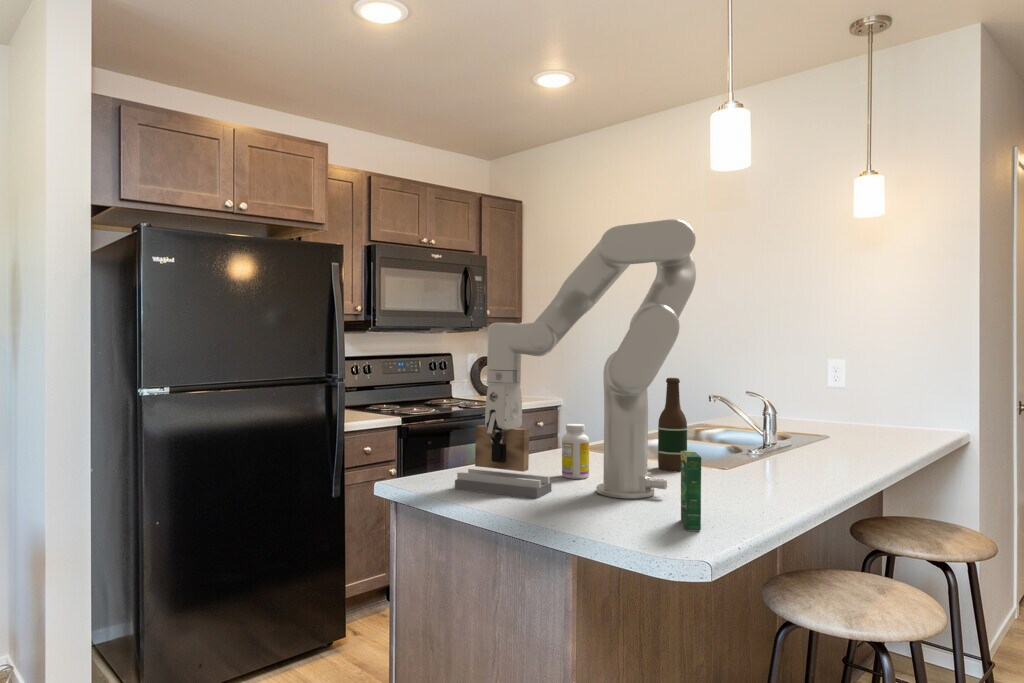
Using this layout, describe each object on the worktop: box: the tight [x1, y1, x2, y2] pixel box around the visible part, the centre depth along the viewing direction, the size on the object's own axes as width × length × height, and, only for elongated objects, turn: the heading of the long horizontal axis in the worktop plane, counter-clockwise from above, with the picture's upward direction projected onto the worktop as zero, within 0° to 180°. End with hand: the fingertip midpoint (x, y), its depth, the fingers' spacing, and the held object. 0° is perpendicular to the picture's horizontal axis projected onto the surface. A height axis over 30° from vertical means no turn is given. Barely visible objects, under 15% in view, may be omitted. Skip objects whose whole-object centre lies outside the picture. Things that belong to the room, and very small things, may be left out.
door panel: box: [474, 424, 530, 473], centre depth 149 cm, size 12×2×9 cm, turn 64°
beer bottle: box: [657, 377, 688, 473], centre depth 177 cm, size 8×8×24 cm
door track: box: [454, 467, 553, 499], centre depth 149 cm, size 20×8×4 cm, turn 64°
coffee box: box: [680, 450, 702, 532], centre depth 122 cm, size 8×3×13 cm, turn 172°
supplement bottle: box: [561, 423, 590, 480], centre depth 165 cm, size 7×7×13 cm
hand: (501, 460), depth 149 cm, fingers closed on door panel, 2 cm apart
